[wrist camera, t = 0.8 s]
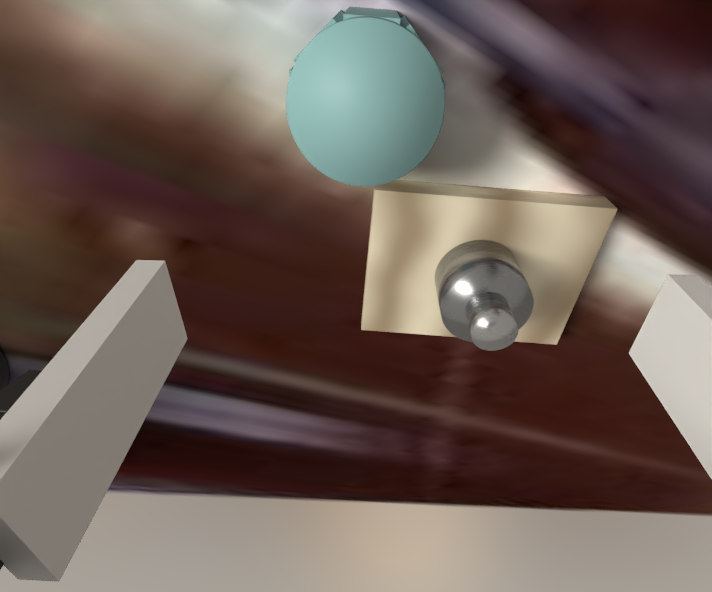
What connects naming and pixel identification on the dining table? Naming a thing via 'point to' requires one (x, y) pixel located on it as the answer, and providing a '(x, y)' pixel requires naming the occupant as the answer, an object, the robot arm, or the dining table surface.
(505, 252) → the knobbed metal weight
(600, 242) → the board
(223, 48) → the dining table surface
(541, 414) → the dining table surface
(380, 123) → the cap
